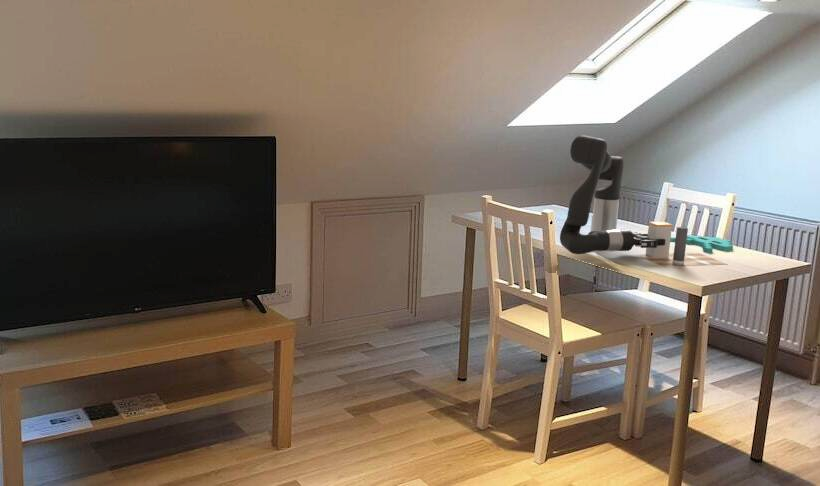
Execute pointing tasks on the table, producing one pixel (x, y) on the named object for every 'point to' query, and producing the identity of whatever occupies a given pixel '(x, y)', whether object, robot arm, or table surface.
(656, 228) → the white orange-topped block
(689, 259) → the subfloor panel
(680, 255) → the dark grey tall block
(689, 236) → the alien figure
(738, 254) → the table surface
